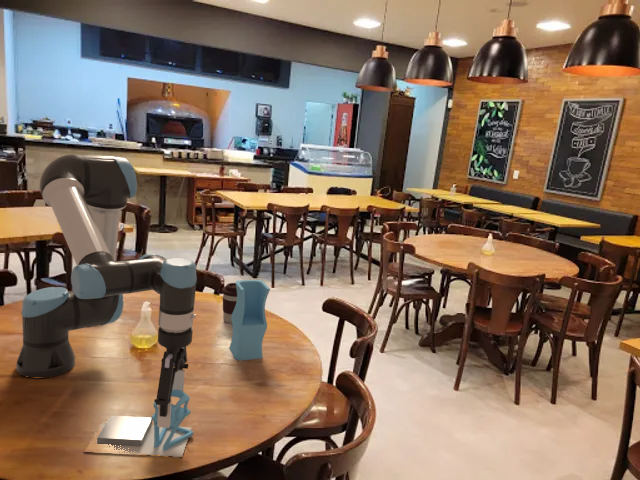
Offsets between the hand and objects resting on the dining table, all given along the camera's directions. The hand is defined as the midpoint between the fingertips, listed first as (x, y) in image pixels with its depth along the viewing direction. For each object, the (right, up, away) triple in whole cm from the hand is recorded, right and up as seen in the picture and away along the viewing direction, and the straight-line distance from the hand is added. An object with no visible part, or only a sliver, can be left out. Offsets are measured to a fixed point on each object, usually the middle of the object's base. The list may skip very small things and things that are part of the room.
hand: (171, 409), depth 112 cm
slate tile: (-12, -5, +6) cm, 14 cm away
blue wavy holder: (+10, +1, +51) cm, 52 cm away
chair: (-1, -8, +2) cm, 8 cm away
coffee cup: (0, +7, +78) cm, 78 cm away
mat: (-8, -8, +1) cm, 11 cm away
